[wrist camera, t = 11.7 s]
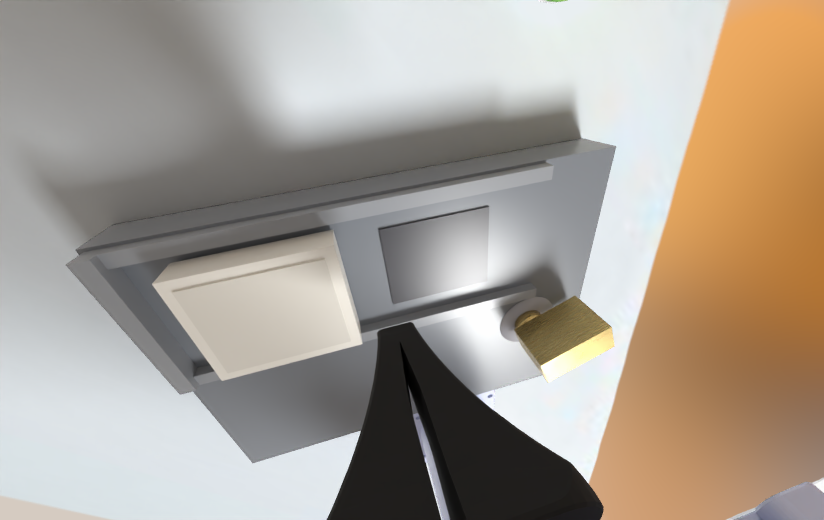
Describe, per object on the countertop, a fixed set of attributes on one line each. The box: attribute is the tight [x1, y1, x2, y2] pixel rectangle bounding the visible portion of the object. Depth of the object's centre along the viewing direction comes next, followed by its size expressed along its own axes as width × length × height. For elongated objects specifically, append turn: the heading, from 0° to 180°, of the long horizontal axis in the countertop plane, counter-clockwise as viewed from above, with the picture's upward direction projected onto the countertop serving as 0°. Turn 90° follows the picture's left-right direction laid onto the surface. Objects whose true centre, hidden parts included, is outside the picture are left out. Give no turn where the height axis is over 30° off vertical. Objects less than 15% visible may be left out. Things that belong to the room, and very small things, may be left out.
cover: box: [152, 230, 363, 381], centre depth 14 cm, size 6×7×2 cm
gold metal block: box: [514, 296, 614, 382], centre depth 19 cm, size 4×2×4 cm, turn 118°
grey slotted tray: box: [66, 139, 616, 463], centre depth 19 cm, size 18×25×4 cm
